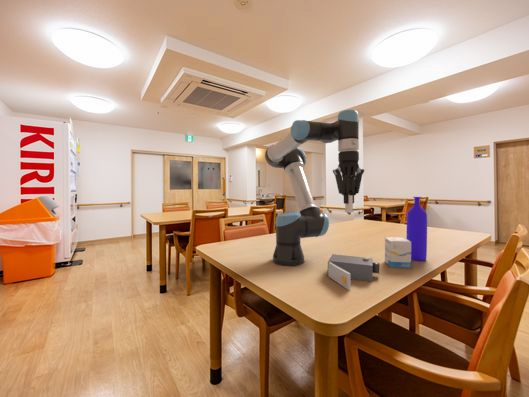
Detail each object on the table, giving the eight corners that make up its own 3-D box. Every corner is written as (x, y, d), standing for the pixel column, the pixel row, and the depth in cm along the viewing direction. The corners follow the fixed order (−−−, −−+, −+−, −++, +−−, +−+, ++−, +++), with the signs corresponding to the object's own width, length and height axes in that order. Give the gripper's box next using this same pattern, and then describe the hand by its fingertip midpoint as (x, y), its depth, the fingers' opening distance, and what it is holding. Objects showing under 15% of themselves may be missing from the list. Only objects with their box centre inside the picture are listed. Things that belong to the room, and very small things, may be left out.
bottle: (427, 262, 108) (428, 197, 107) (406, 259, 113) (406, 197, 111) (426, 257, 115) (427, 196, 114) (406, 255, 120) (407, 196, 118)
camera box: (328, 275, 94) (328, 258, 94) (332, 267, 104) (332, 252, 103) (379, 282, 87) (379, 264, 86) (379, 273, 96) (379, 256, 95)
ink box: (411, 268, 101) (412, 241, 101) (390, 267, 103) (390, 240, 102) (404, 262, 110) (404, 237, 109) (384, 261, 111) (384, 236, 111)
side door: (326, 276, 94) (325, 261, 93) (329, 275, 94) (329, 261, 94) (346, 290, 80) (346, 273, 80) (350, 289, 81) (350, 273, 81)
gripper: (339, 149, 87) (339, 213, 88) (369, 150, 90) (369, 212, 91) (328, 152, 94) (329, 211, 95) (356, 153, 97) (357, 210, 98)
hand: (348, 211), depth 93 cm, fingers closed
